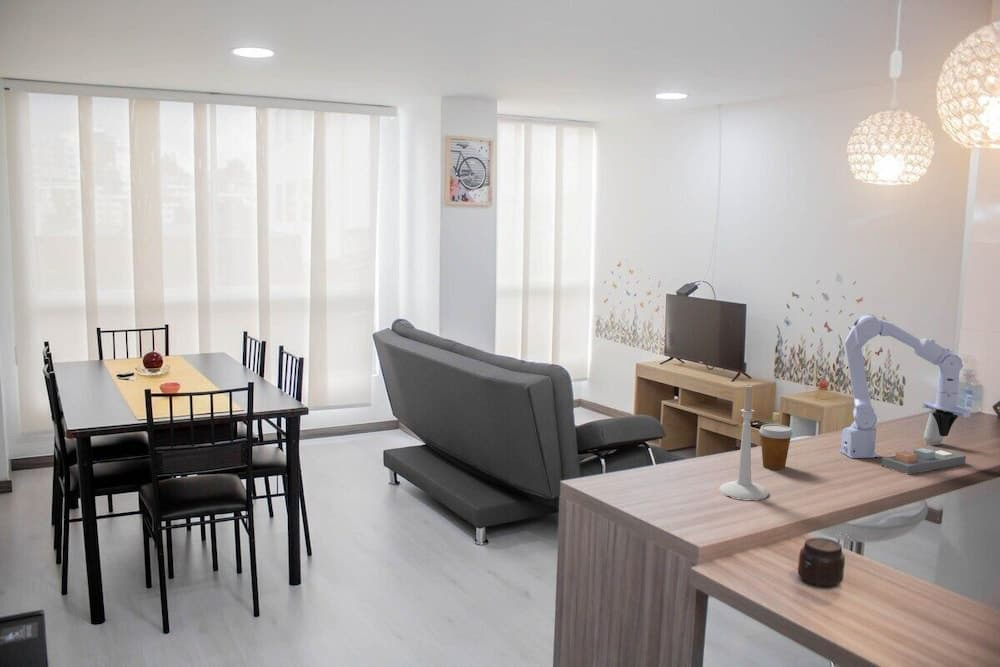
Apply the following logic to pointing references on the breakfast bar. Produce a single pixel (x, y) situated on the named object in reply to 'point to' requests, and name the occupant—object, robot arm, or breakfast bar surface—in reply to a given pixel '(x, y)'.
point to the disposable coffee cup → (775, 445)
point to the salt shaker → (932, 430)
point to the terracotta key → (906, 457)
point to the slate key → (925, 454)
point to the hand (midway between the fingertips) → (943, 435)
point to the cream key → (943, 453)
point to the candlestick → (745, 460)
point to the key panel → (924, 463)
